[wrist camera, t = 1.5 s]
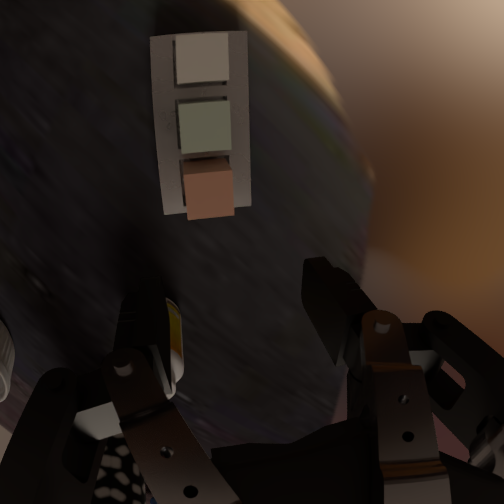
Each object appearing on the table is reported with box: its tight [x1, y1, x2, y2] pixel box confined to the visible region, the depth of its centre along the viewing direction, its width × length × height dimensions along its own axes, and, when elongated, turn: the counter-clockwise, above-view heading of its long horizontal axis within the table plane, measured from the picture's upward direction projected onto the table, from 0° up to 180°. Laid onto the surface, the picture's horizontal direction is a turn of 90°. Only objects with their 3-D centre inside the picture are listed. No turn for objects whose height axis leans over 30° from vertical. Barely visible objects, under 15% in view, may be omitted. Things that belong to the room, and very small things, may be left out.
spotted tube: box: [91, 433, 146, 504], centre depth 29 cm, size 8×8×20 cm
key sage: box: [178, 100, 232, 154], centre depth 21 cm, size 3×3×4 cm
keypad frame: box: [150, 31, 251, 215], centre depth 23 cm, size 7×14×3 cm, turn 1°
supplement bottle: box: [166, 298, 184, 399], centre depth 28 cm, size 6×6×10 cm
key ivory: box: [176, 33, 229, 85], centre depth 19 cm, size 3×3×4 cm
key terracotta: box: [183, 158, 234, 220], centre depth 23 cm, size 3×3×4 cm
